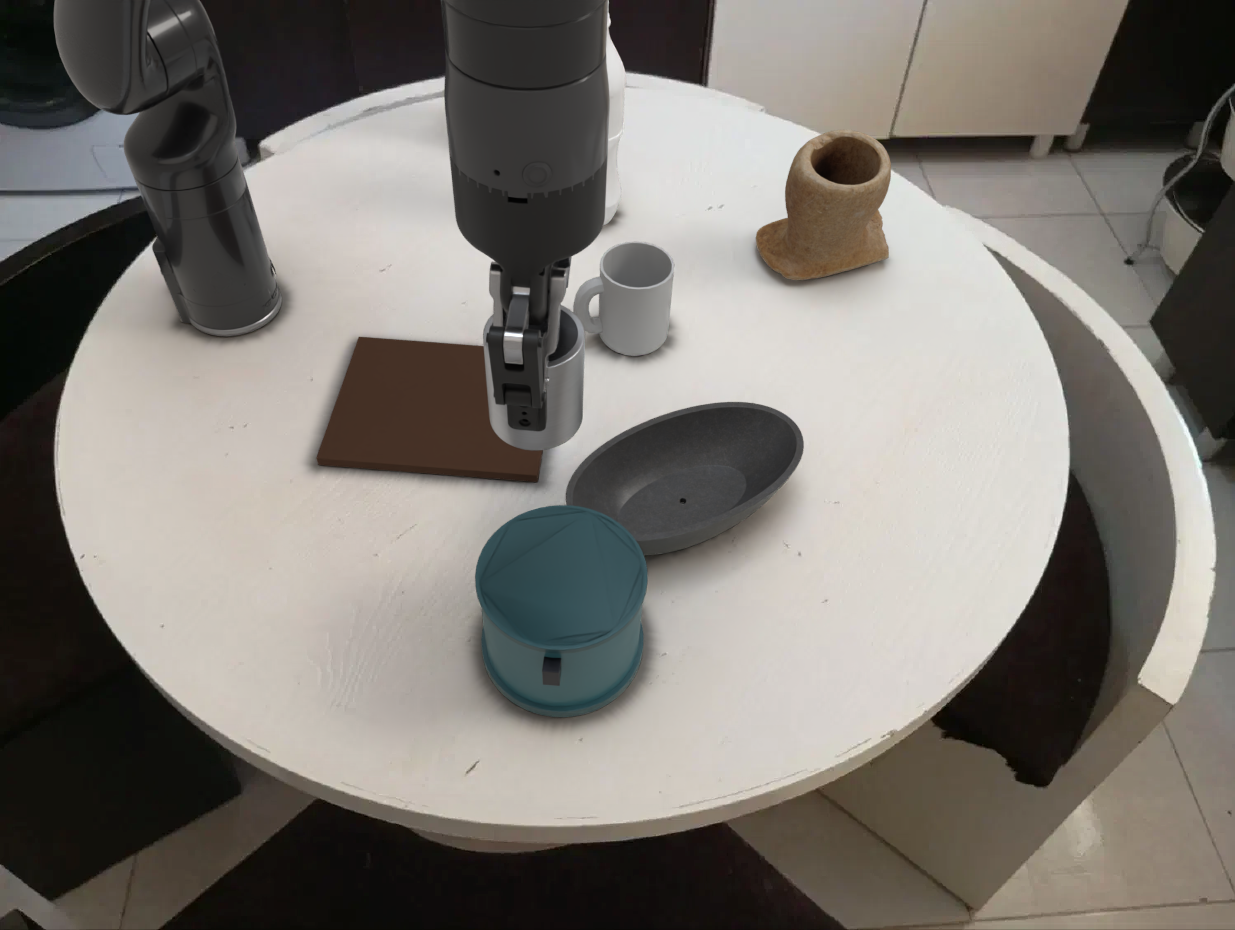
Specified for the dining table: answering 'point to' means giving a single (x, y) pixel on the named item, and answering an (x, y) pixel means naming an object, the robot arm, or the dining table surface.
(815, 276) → the stone cup
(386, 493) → the dining table surface
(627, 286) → the cup
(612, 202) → the water bottle
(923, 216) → the dining table surface
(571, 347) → the silver cup
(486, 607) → the teal round canister
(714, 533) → the bowl
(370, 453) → the mat
